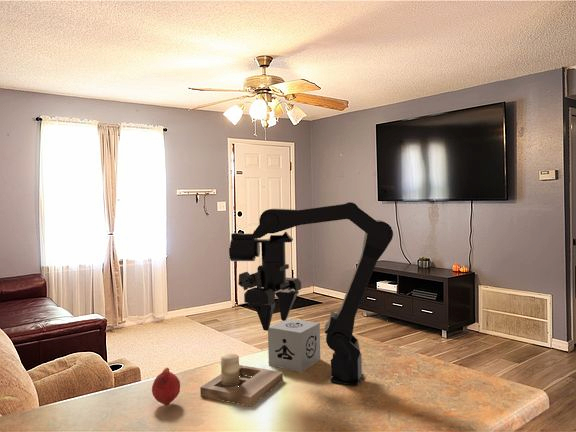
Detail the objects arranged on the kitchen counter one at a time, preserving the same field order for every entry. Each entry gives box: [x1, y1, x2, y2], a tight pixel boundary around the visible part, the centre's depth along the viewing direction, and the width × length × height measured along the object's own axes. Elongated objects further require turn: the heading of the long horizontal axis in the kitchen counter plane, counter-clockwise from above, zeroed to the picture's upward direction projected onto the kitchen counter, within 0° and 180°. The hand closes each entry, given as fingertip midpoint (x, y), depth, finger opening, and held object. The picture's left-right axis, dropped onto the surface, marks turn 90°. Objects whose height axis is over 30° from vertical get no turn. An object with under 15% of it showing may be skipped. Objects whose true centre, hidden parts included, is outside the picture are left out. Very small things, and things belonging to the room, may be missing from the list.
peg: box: [220, 353, 240, 390], centre depth 104 cm, size 4×4×8 cm
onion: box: [151, 366, 181, 406], centre depth 98 cm, size 6×6×8 cm
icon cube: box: [267, 318, 321, 373], centre depth 122 cm, size 10×10×10 cm
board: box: [200, 364, 284, 407], centre depth 106 cm, size 13×15×2 cm
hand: (275, 325), depth 111 cm, fingers open, 9 cm apart
